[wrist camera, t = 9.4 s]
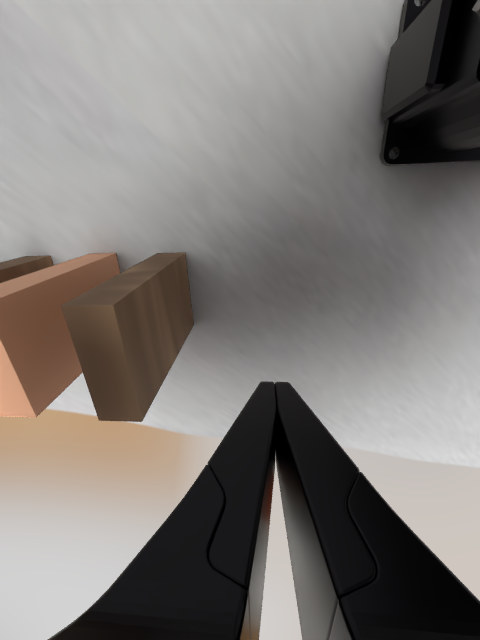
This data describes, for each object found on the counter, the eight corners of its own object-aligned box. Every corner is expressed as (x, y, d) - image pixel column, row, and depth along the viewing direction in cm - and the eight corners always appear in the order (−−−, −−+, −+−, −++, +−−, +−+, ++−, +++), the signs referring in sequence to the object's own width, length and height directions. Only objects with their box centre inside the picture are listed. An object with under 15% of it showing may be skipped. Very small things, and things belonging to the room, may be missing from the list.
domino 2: (185, 252, 17) (112, 305, 9) (193, 324, 19) (141, 422, 11) (157, 253, 17) (60, 305, 9) (168, 324, 19) (98, 420, 11)
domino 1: (108, 323, 19) (-4, 416, 11) (89, 253, 17) (-65, 304, 9) (131, 323, 19) (36, 417, 11) (115, 253, 17) (-17, 304, 9)
